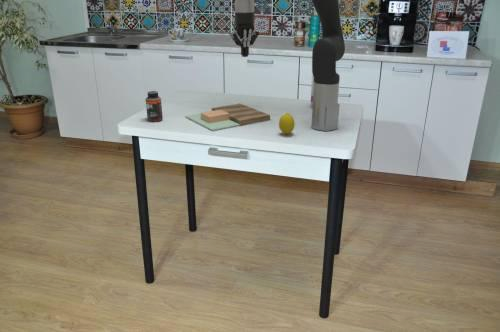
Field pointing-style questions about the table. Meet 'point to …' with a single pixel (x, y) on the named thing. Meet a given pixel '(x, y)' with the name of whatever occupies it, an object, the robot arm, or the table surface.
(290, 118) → the lemon
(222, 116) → the tile
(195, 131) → the table surface
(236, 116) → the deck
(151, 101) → the supplement bottle
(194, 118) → the mat
